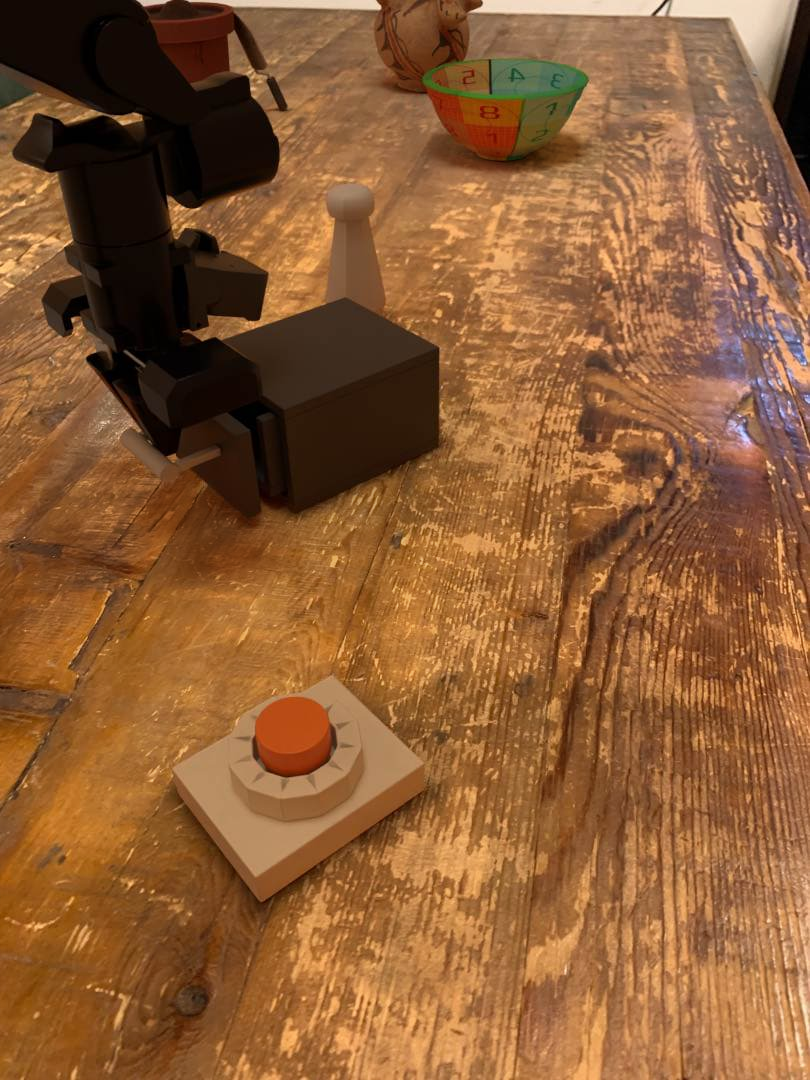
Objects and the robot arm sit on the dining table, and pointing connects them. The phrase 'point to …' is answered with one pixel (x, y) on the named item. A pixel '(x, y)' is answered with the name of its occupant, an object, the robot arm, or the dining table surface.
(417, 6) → the ceramic vessel
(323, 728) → the button
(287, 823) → the control block
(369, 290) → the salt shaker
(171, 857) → the dining table surface
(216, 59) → the potted plant
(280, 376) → the drawer cabinet
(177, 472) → the dark brown drawer
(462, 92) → the bowl
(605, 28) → the dining table surface
